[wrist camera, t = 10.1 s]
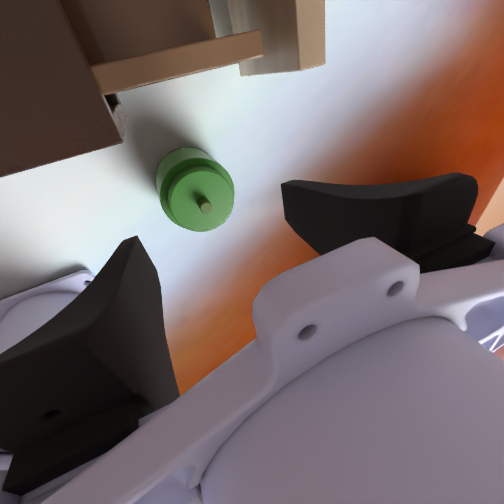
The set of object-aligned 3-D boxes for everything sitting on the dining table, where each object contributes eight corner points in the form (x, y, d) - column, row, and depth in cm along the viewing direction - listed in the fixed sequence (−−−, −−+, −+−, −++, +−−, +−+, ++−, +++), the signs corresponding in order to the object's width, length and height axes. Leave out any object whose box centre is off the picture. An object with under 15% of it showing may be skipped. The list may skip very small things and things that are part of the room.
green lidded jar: (227, 200, 20) (251, 228, 16) (170, 220, 19) (181, 255, 15) (210, 138, 17) (235, 154, 13) (143, 159, 16) (148, 182, 12)
